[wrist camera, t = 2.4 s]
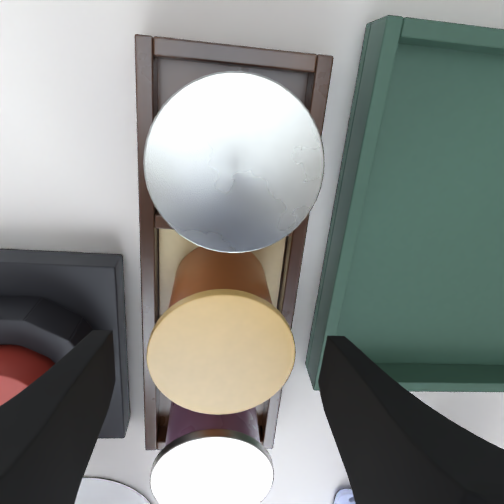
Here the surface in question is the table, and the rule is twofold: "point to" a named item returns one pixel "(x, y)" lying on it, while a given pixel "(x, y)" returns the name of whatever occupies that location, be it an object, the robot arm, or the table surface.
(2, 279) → the button block
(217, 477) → the mauve pod
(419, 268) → the tray
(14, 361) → the button
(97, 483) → the mug
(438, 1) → the table surface
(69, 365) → the robot arm
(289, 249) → the pod stand
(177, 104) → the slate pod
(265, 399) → the coffee pod
